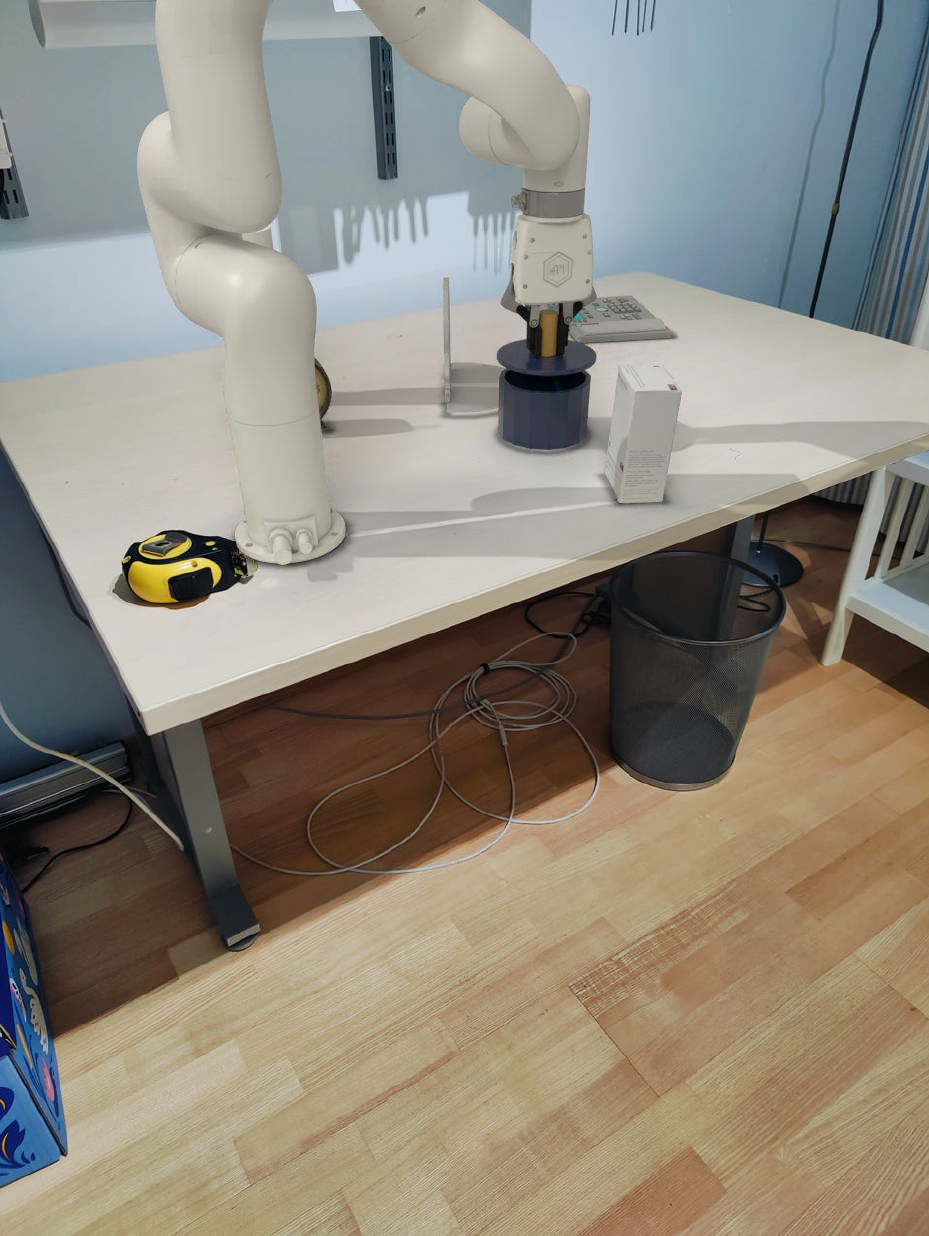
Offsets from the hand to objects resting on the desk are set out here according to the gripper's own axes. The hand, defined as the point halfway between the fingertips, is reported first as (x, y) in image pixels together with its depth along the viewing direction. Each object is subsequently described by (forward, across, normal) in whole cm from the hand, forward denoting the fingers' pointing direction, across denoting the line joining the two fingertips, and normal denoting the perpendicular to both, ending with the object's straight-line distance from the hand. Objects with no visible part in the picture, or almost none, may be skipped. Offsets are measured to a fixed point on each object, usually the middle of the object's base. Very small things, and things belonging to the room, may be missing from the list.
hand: (546, 351), depth 116 cm
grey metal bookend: (+12, -3, +19) cm, 23 cm away
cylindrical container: (+12, -37, +23) cm, 45 cm away
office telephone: (+12, +27, +47) cm, 55 cm away
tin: (+12, 0, 0) cm, 12 cm away
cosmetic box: (+12, +6, -19) cm, 23 cm away
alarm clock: (+12, -34, +10) cm, 37 cm away
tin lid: (+1, 0, 0) cm, 1 cm away
